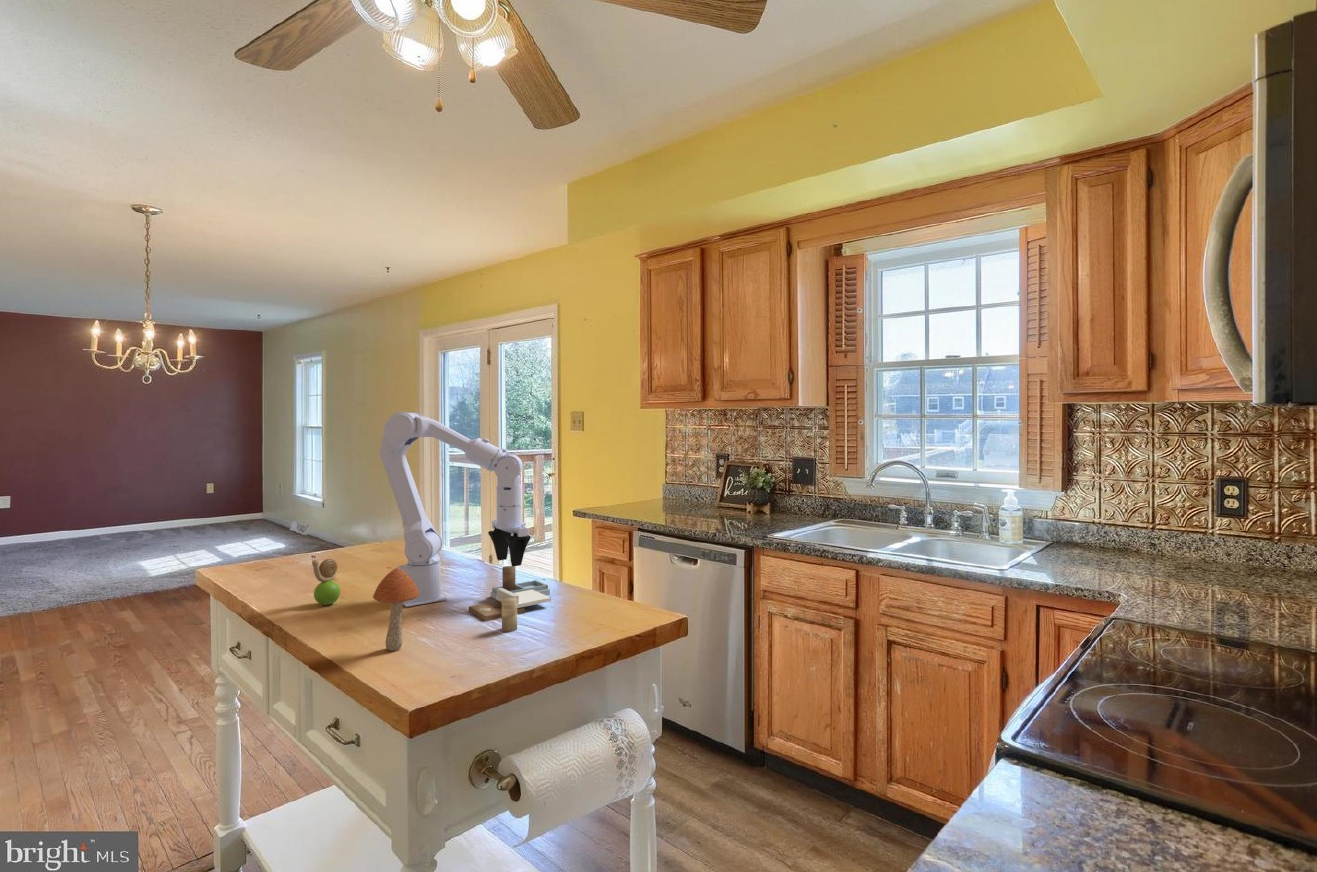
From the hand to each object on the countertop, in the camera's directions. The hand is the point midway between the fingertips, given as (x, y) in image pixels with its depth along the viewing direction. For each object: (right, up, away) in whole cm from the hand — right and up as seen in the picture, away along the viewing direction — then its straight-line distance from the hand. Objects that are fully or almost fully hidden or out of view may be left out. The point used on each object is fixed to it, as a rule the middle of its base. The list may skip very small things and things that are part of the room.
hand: (509, 562), depth 152 cm
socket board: (+2, -8, +2) cm, 9 cm away
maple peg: (+5, -9, -23) cm, 25 cm away
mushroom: (-13, -10, -33) cm, 37 cm away
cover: (+5, -7, -7) cm, 11 cm away
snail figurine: (-40, -9, -6) cm, 42 cm away
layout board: (0, -9, -11) cm, 14 cm away
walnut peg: (0, -7, 0) cm, 7 cm away
